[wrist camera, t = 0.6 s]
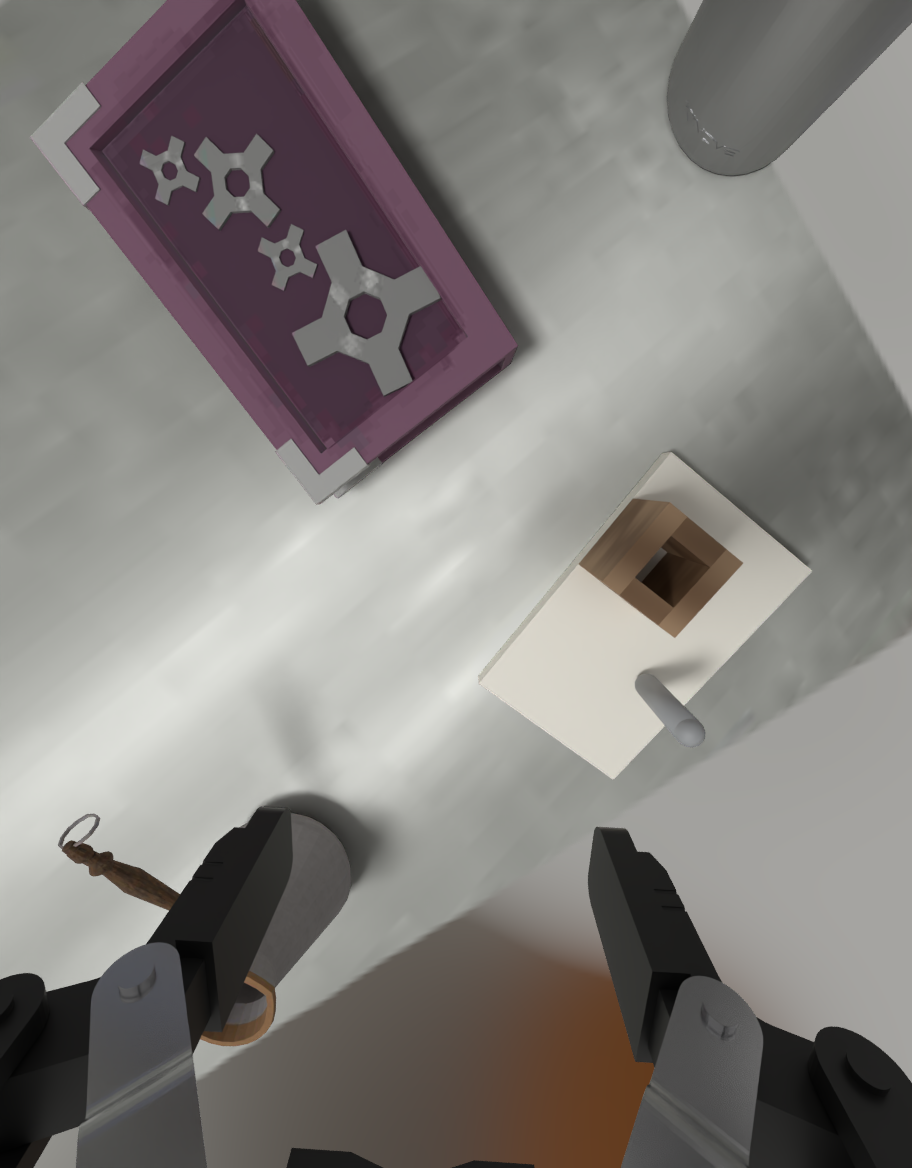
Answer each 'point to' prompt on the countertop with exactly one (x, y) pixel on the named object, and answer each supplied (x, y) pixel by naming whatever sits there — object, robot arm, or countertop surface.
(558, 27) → the countertop surface
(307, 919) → the coffee pot
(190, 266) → the book
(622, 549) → the brown wooden hollow cube
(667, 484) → the board
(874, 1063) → the robot arm
